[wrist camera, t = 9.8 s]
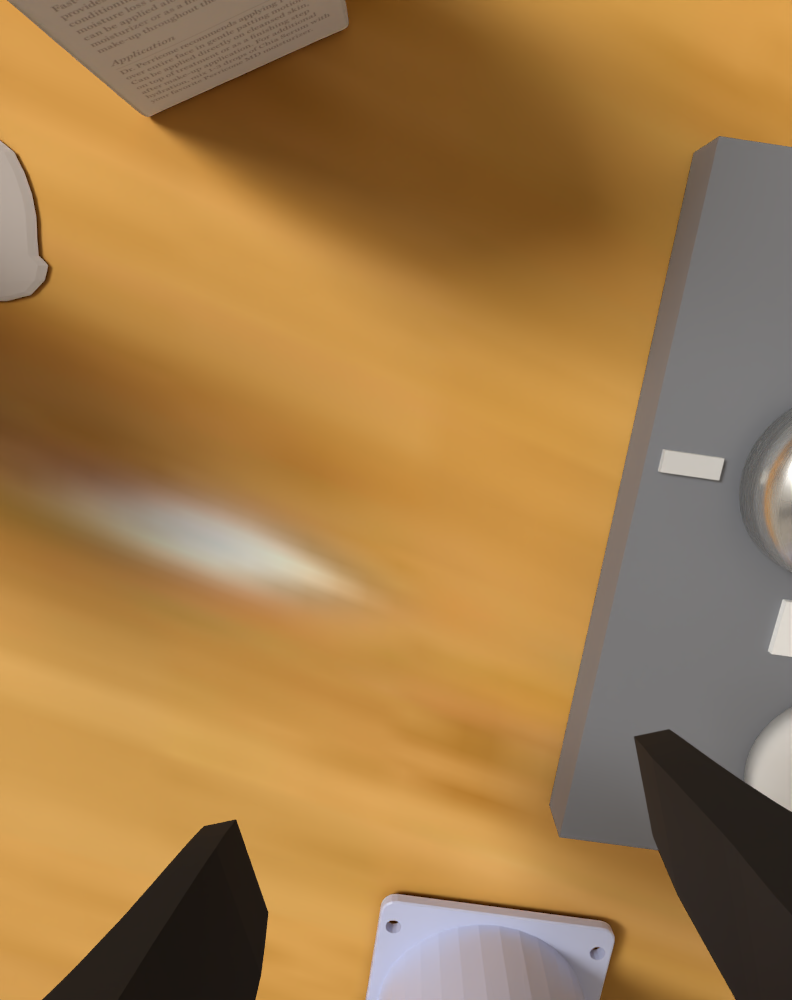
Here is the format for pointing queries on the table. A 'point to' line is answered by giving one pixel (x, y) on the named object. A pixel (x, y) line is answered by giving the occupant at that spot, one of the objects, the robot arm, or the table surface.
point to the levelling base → (695, 518)
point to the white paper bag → (17, 232)
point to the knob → (770, 492)
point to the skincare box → (180, 40)
